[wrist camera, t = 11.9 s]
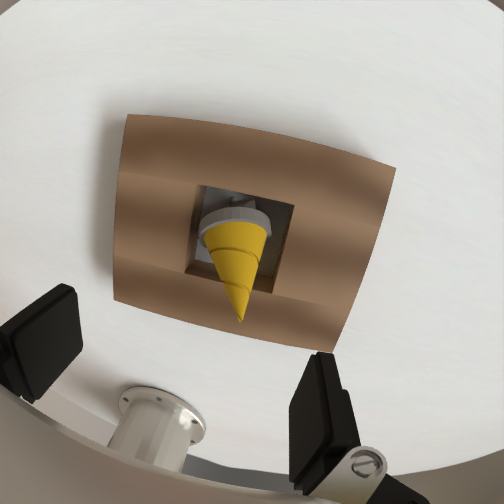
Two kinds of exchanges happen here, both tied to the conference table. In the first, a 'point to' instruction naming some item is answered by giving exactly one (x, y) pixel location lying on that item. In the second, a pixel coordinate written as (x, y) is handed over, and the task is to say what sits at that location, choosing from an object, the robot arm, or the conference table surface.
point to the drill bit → (236, 247)
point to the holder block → (253, 183)
